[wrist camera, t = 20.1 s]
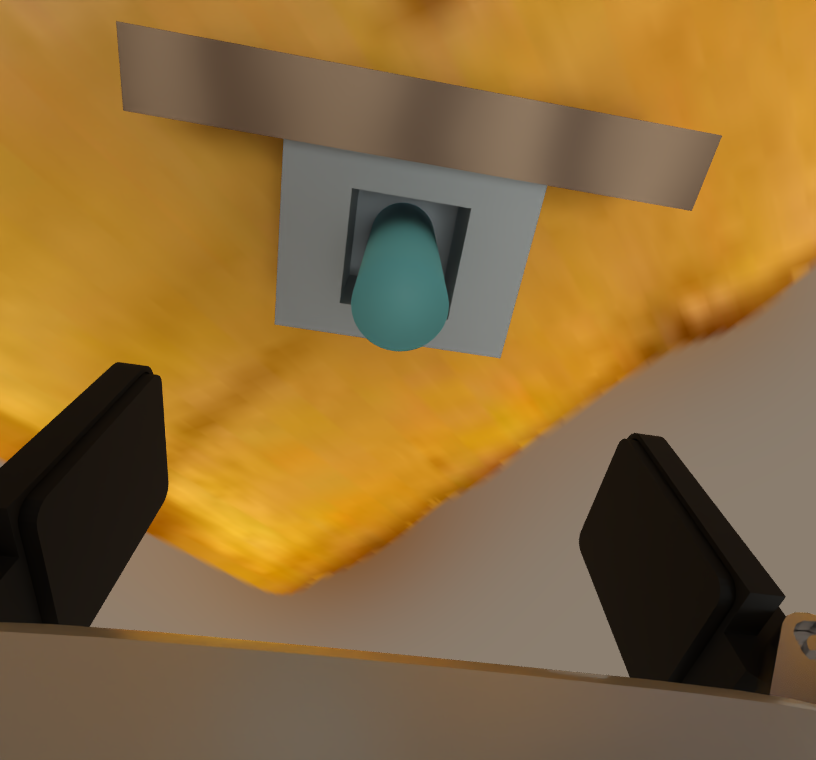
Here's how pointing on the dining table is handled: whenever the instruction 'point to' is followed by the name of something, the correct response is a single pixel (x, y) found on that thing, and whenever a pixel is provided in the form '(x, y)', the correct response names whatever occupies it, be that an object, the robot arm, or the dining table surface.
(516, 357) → the dining table surface
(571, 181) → the backstop wall
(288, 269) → the socket block
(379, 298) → the dowel
